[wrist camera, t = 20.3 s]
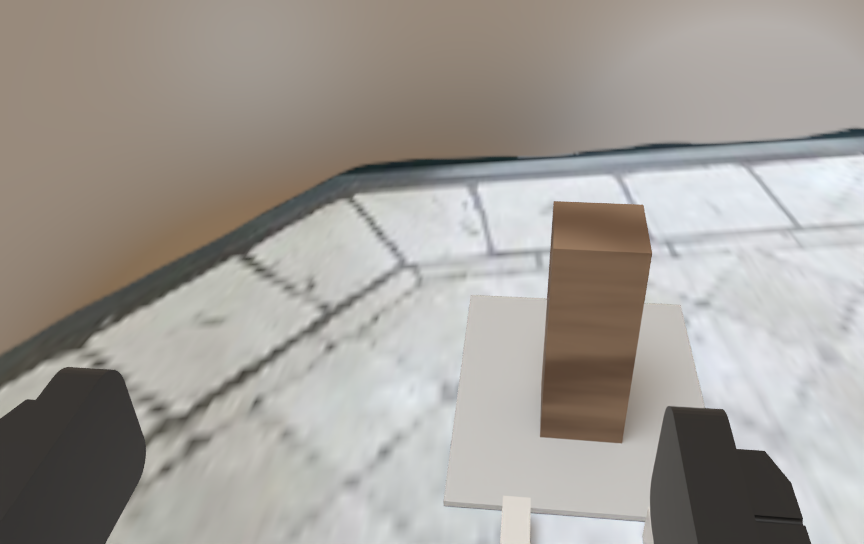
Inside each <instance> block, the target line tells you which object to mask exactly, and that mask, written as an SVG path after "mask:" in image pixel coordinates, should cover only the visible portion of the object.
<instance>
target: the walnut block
mask: <svg viewBox="0 0 864 544" xmlns="http://www.w3.org/2000/svg"><path fill="white" fill-rule="evenodd" d="M651 257H652V250H651V245H650V239H649V234H648V228H647V223H646V217H645V212H644V206H643V205H634V204H609V203H583V202H558V201H554V206H553V221H552V235H551V250H550V264H549V279H548V293H547V308H546V322H545V337H544V351H543V366H542V381H541V416H540V437H544V438H557V439H570V440H583V441H596V442H609V443H621V444H622V440H623V433H624V427H625V421H626V415H627V408H628V402H629V396H630V389H631V383H632V377H633V370H634V364H635V358H636V351H637V345H638V339H639V332H640V326H641V320H642V314H643V307H644V301H645V295H646V288H647V282H648V276H649V269H650V263H651Z"/></svg>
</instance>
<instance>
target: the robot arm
mask: <svg viewBox="0 0 864 544" xmlns="http://www.w3.org/2000/svg"><path fill="white" fill-rule="evenodd" d="M145 457H146V445H145V440H144V436H143V433H142V431H141V428H140V425H139V422H138V419H137V416H136V413H135V410H134V407H133V405H132V402H131V399H130V396H129V393H128V390H127V387H126V384H125V381H124V379H123V377H122V375H121V374H120V373H119V372H118V371H116V370H107V369H90V368H74V367H66V368H63V369H61V370H60V371H59V372H57V373H56V375H55V376H54V377H53V378H52V380H51V381H50V382H49V383H48V385H47V386H46V387H45V389H44V390H43V391H42V393H41V394H40V395H39V397H38V398H37V399H36V400H28V399H27V400H25V401H24V402H22V403H21V404H20V405H18V406H17V407H16V408H14V409H13V410H12V411H10V412H9V413H8V414H6V415H5V416H3V417H2V418H1V419H0V544H105V543H106V541H107V539H108V537H109V536H110V534H111V532H112V530H113V528H114V526H115V525H116V523H117V521H118V519H119V517H120V515H121V514H122V512H123V510H124V508H125V506H126V504H127V503H128V501H129V499H130V497H131V495H132V493H133V492H134V490H135V488H136V486H137V484H138V482H139V480H140V478H141V475H142V472H143V469H144V464H145ZM650 518H651V527H652V535H653V542H654V544H811V542H810V539H809V536H808V533H807V530H806V527H805V526H803V522H802V521H803V518H802V514H801V511H800V508H799V505H798V502H797V499H796V496H795V493H794V490H793V487H792V484H791V482H790V481H789V480H788V479H787V477H786V476H785V475H784V474H783V473H782V471H781V470H780V469H779V468H778V466H777V465H776V464H775V463H774V462H773V460H772V459H771V458H770V457H769V456H768V454H767V453H766V452H765V451H757V450H743V449H736V446H735V442H734V438H733V435H732V431H731V427H730V423H729V420H728V417H727V414H726V412H725V411H724V410H723V409H709V408H693V407H677V406H668V407H667V408H666V410H665V413H664V417H663V422H662V427H661V432H660V437H659V442H658V448H657V453H656V458H655V463H654V468H653V473H652V478H651V487H650Z"/></svg>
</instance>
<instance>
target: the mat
mask: <svg viewBox="0 0 864 544" xmlns="http://www.w3.org/2000/svg"><path fill="white" fill-rule="evenodd" d="M546 308H547V299H545V298H524V297H502V296H481V295H471V297H470V305H469V312H468V320H467V328H466V335H465V343H464V350H463V358H462V365H461V373H460V381H459V388H458V396H457V403H456V411H455V418H454V426H453V433H452V441H451V449H450V456H449V464H448V471H447V479H446V486H445V494H444V506H455V507H467V508H480V509H493V510H502V504H503V496H515V497H528V498H531V513H543V514H556V515H569V516H582V517H594V518H607V519H620V520H632V521H646V516H647V511H648V507H650V487H651V478H652V473H653V468H654V463H655V458H656V453H657V448H658V442H659V437H660V432H661V427H662V422H663V417H664V413H665V410H666V408H667V407H668V406H677V407H693V408H705V406H704V401H703V397H702V393H701V389H700V385H699V380H698V376H697V372H696V368H695V364H694V359H693V355H692V351H691V347H690V343H689V338H688V334H687V330H686V326H685V322H684V318H683V313H682V309H681V305H673V304H651V303H644V307H643V314H642V320H641V326H640V332H639V339H638V345H637V351H636V358H635V364H634V370H633V377H632V383H631V389H630V396H629V402H628V408H627V415H626V421H625V427H624V433H623V440H622V444H621V443H609V442H596V441H583V440H570V439H557V438H544V437H540V416H541V381H542V366H543V351H544V337H545V322H546Z"/></svg>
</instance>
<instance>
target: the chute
mask: <svg viewBox="0 0 864 544" xmlns="http://www.w3.org/2000/svg"><path fill="white" fill-rule="evenodd" d="M530 513H531V498H528V497H515V496H503V504H502V522H501V540H500V544H530ZM642 537H643V544H654V542H653V535H652V527H651V518H650V507H648V511H647V516H646V521H645V526H644V531H643V536H642Z"/></svg>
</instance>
